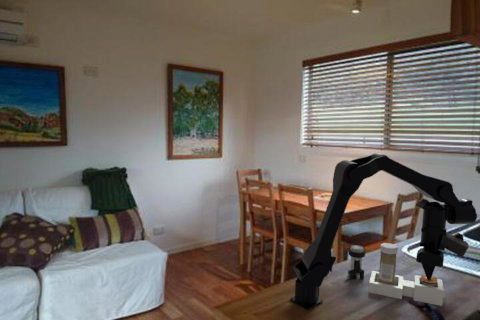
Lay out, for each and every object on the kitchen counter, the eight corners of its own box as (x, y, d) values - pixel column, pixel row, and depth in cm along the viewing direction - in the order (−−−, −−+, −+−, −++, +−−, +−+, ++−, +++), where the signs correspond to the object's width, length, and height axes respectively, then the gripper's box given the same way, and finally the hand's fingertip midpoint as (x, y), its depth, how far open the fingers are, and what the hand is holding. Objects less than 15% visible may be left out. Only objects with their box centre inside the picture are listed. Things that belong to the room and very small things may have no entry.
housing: (368, 292, 107) (369, 277, 106) (371, 279, 115) (372, 266, 114) (442, 307, 99) (444, 291, 99) (440, 293, 107) (441, 278, 107)
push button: (350, 283, 112) (351, 251, 111) (339, 276, 117) (341, 245, 116) (367, 280, 115) (369, 249, 113) (356, 273, 120) (358, 243, 118)
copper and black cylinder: (419, 298, 104) (421, 279, 103) (419, 291, 107) (421, 273, 106) (435, 301, 102) (437, 282, 101) (435, 294, 106) (436, 276, 105)
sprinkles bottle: (396, 289, 109) (400, 245, 107) (390, 294, 106) (393, 249, 104) (381, 283, 112) (385, 241, 110) (374, 288, 109) (377, 244, 107)
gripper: (469, 239, 90) (463, 300, 92) (467, 220, 106) (461, 272, 108) (418, 231, 95) (413, 288, 97) (423, 214, 111) (419, 263, 113)
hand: (428, 277), depth 104 cm, fingers closed, pressing on copper and black cylinder
